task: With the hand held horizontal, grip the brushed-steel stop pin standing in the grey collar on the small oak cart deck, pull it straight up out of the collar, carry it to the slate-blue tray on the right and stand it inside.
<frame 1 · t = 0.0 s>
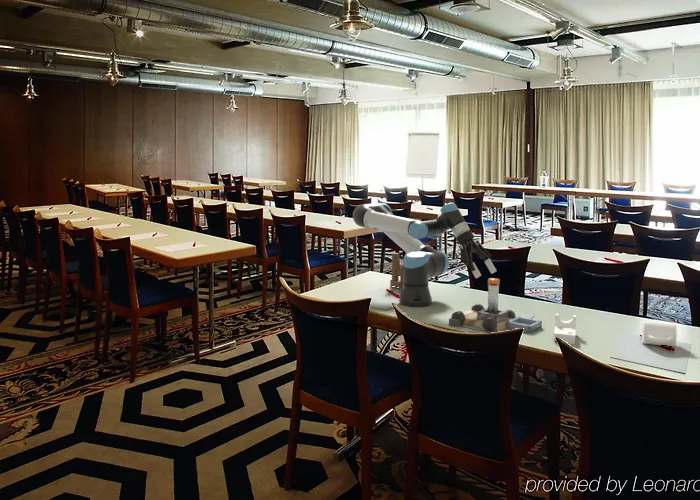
hand: (486, 274, 242), 15 cm above the table, tool tilted 35°, fingers open, 13 cm apart
bracket: (564, 339, 202), on the table
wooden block: (399, 288, 285), on the table
tray: (523, 327, 215), on the table
cart deck: (483, 322, 221), on the table
chock: (454, 325, 219), on the table
white rounded block: (658, 346, 192), on the table
stop pin: (492, 318, 218), point 2 cm above the table, touching cart deck
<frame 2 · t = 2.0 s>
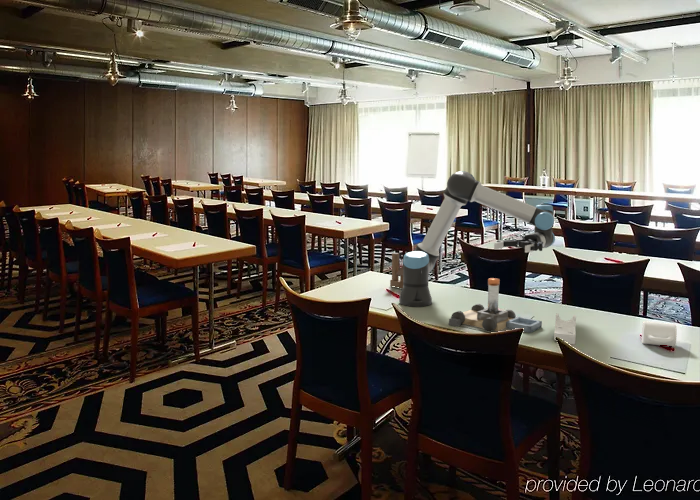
hand: (510, 247, 223), 30 cm above the table, tool horizontal, fingers open, 13 cm apart
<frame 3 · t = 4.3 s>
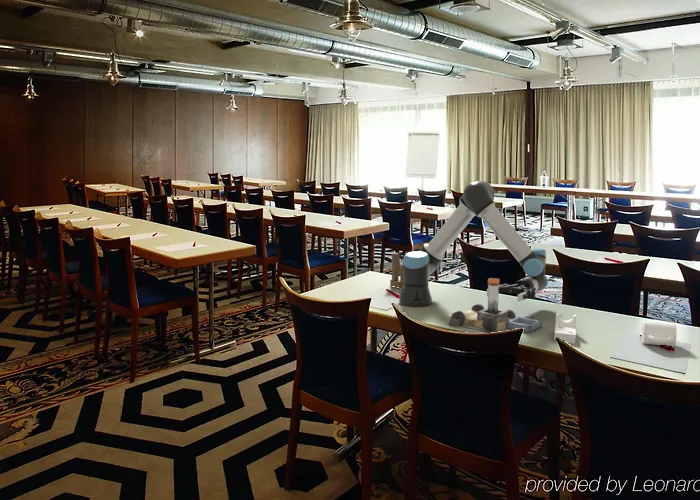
hand: (502, 295, 221), 11 cm above the table, tool horizontal, fingers open, 13 cm apart
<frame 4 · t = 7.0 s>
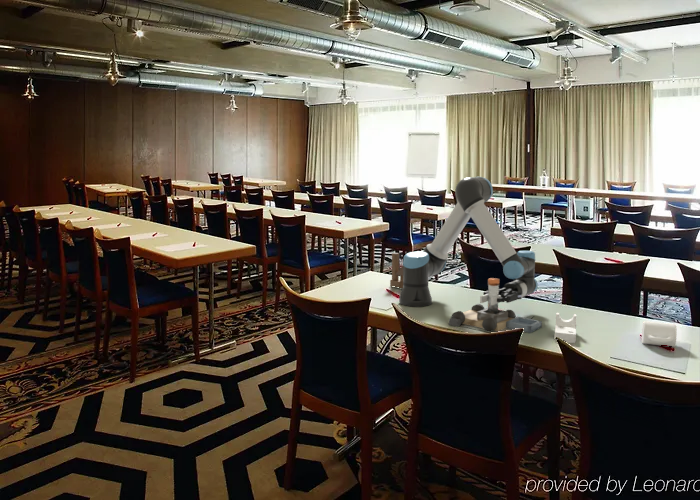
hand: (486, 300, 213), 11 cm above the table, tool horizontal, fingers closed on stop pin, 4 cm apart
stop pin: (492, 318, 218), point 2 cm above the table, touching cart deck, gripper
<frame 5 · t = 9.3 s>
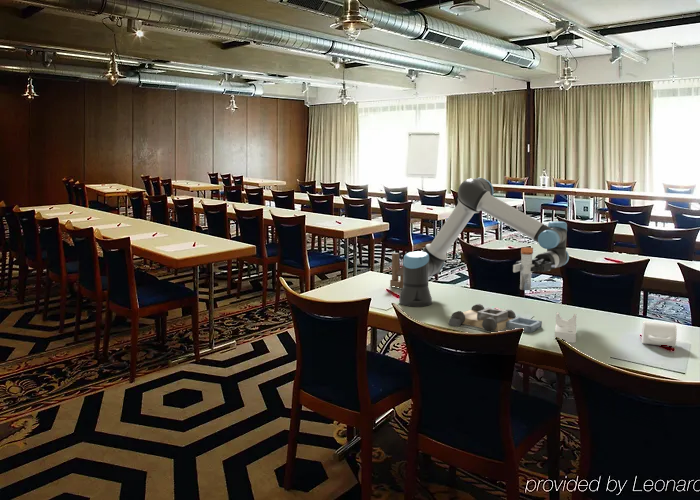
hand: (519, 269, 207), 24 cm above the table, tool horizontal, fingers closed on stop pin, 4 cm apart
stop pin: (525, 289, 212), point 16 cm above the table, touching gripper
when the fingers open (10 cm above the table, at t = 12.0 s): stop pin stays where it is, resting on tray.
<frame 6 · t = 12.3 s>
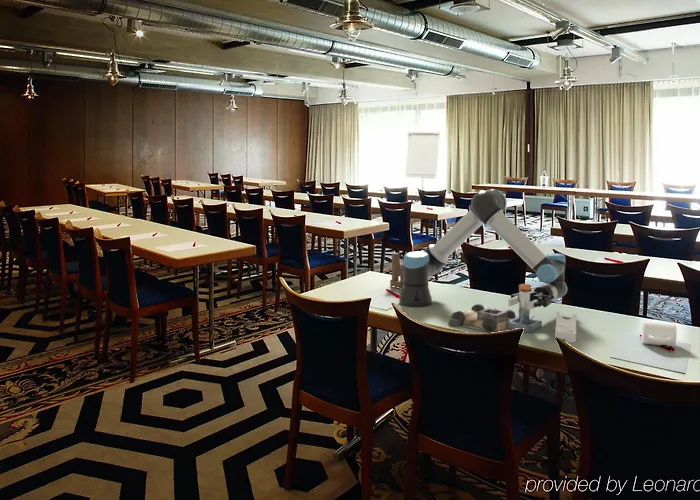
hand: (519, 304, 210), 10 cm above the table, tool horizontal, fingers open, 7 cm apart
stop pin: (523, 325, 215), point 1 cm above the table, touching tray
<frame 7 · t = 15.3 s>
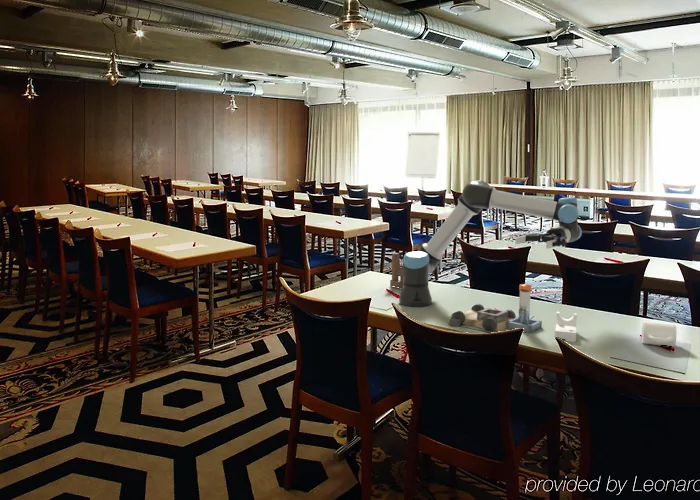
hand: (531, 242, 218), 33 cm above the table, tool horizontal, fingers open, 13 cm apart
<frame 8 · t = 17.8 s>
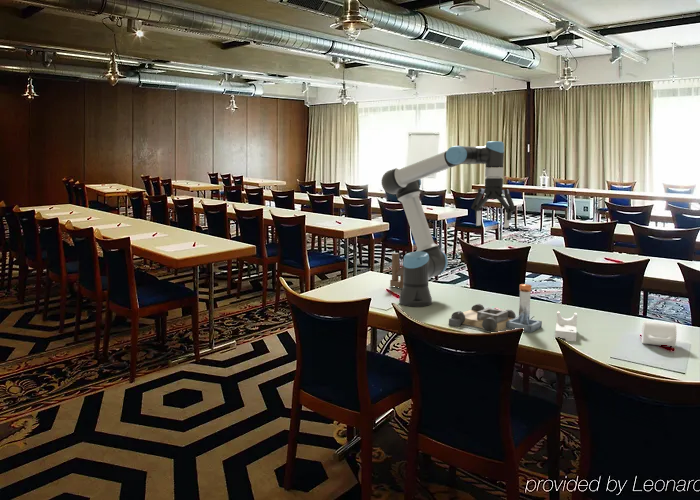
hand: (492, 226, 239), 37 cm above the table, tool pointing down, fingers open, 13 cm apart
at the end: stop pin inside the target area on the tray (0.0 cm from its centre), point 0.8 cm above the tray's base; the gripper is holding nothing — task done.
